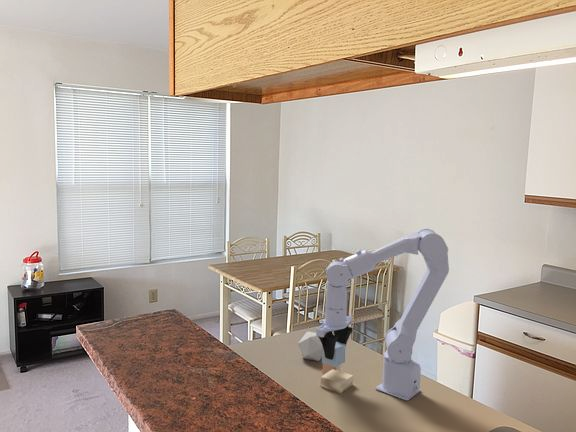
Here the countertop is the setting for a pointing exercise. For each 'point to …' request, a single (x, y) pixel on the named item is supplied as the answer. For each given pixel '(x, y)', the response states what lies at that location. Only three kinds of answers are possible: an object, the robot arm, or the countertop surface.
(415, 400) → the countertop surface
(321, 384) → the beech base
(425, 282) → the robot arm
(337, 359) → the blue block
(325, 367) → the terracotta block
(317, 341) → the die
